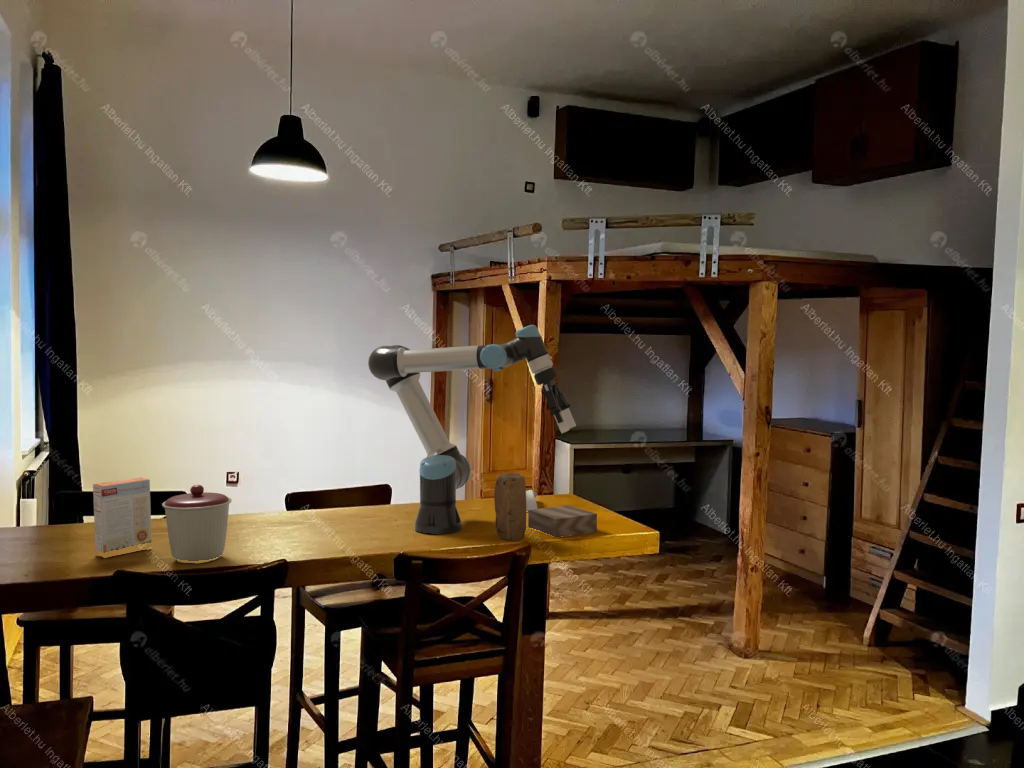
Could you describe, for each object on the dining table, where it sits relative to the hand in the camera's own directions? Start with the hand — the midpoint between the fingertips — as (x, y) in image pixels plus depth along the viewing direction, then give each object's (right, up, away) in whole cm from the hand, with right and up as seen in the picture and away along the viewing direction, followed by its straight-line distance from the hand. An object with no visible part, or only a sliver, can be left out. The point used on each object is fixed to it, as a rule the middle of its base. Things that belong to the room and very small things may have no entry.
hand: (569, 429), depth 266 cm
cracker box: (-131, -34, -32) cm, 139 cm away
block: (-20, -33, -13) cm, 41 cm away
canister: (-107, -34, -40) cm, 119 cm away
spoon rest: (-14, -31, +37) cm, 50 cm away
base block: (-3, -33, -3) cm, 33 cm away
